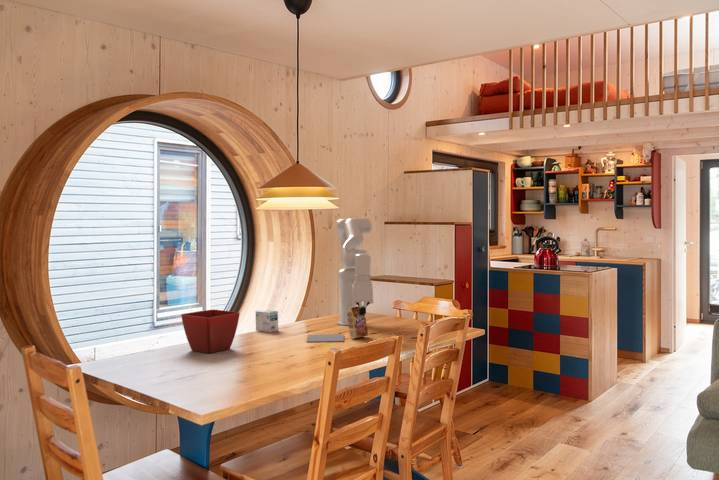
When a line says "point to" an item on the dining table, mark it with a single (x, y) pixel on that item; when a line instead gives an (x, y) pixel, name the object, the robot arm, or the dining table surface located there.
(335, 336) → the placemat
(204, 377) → the dining table surface
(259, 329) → the light bulb box
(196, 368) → the dining table surface
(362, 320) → the candy box
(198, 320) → the plant pot
